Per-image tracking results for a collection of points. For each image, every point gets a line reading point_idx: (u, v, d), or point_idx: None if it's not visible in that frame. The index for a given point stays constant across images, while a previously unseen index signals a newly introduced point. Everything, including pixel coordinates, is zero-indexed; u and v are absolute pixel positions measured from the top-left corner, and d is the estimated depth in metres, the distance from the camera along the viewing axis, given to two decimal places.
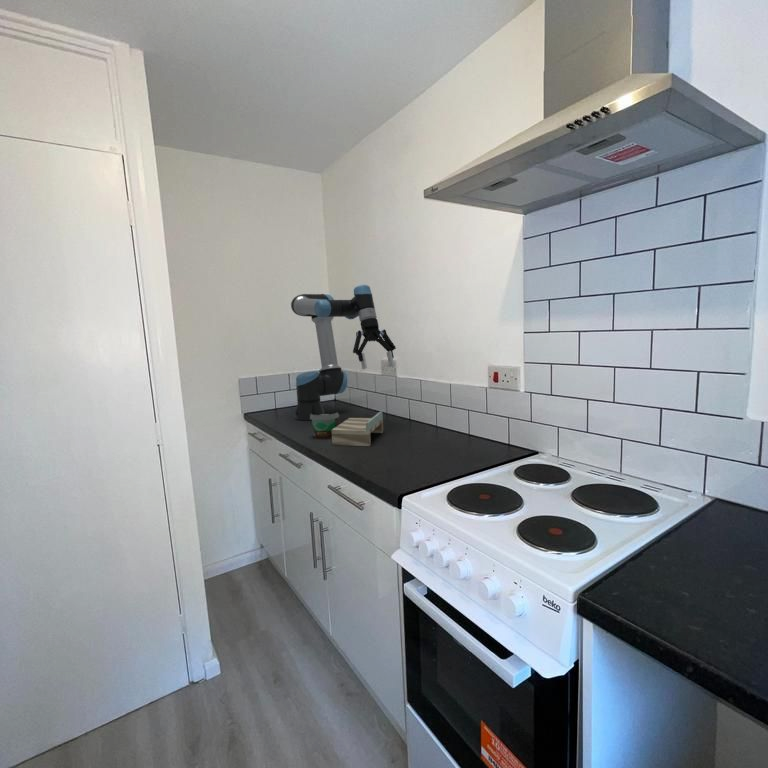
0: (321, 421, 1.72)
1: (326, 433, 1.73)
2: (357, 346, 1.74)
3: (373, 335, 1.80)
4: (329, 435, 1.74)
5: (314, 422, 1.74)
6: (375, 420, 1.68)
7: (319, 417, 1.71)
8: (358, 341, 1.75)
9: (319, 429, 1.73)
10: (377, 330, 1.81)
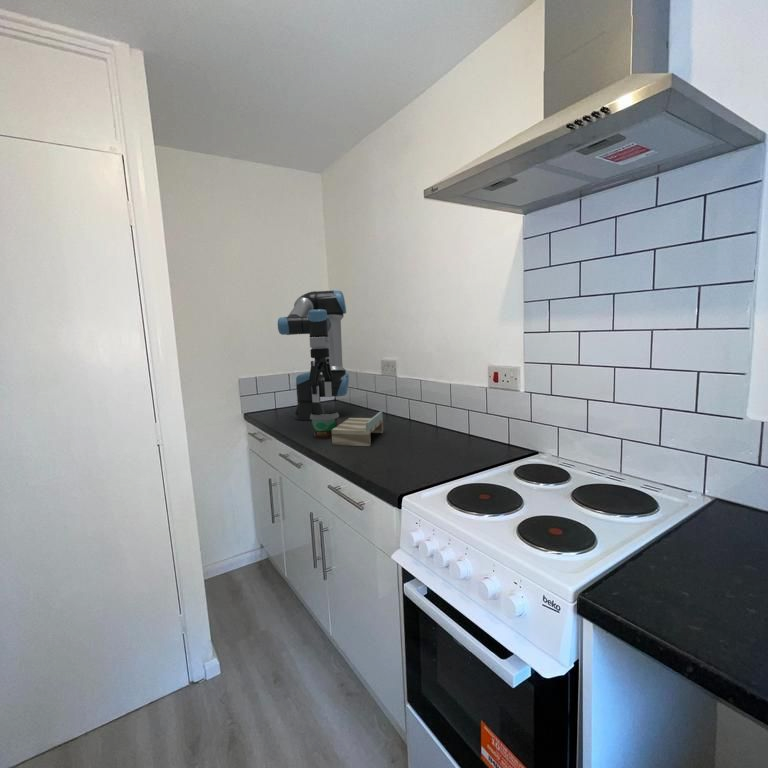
0: (321, 421, 1.72)
1: (326, 433, 1.73)
2: (315, 379, 1.63)
3: None
4: (329, 435, 1.74)
5: (314, 422, 1.74)
6: (375, 420, 1.68)
7: (319, 417, 1.71)
8: (316, 373, 1.64)
9: (319, 429, 1.73)
10: (325, 360, 1.73)
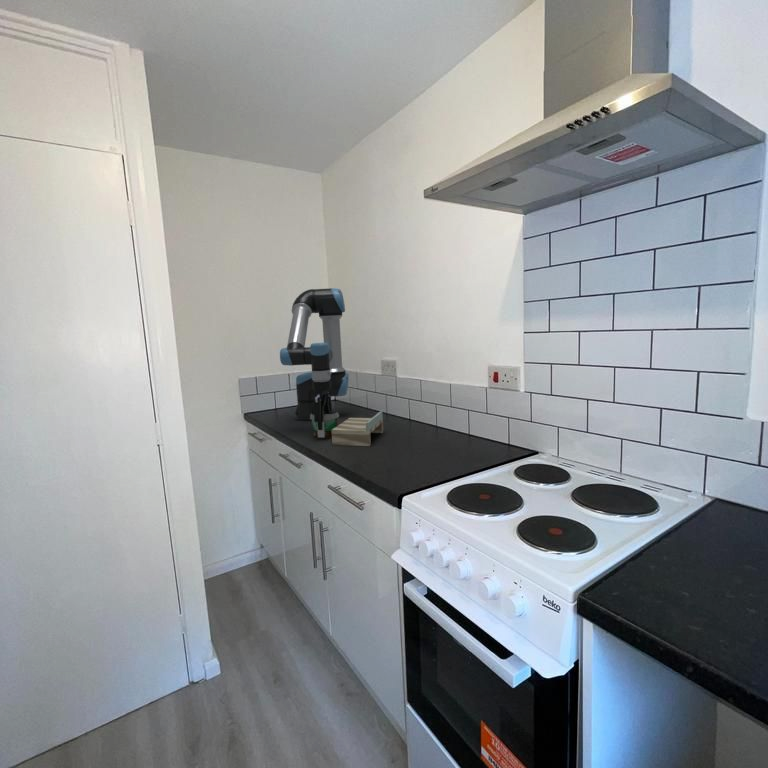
0: None
1: (326, 433, 1.73)
2: (320, 415, 1.68)
3: None
4: (329, 435, 1.74)
5: (314, 422, 1.74)
6: (375, 420, 1.68)
7: None
8: (320, 409, 1.67)
9: None
10: (327, 391, 1.75)
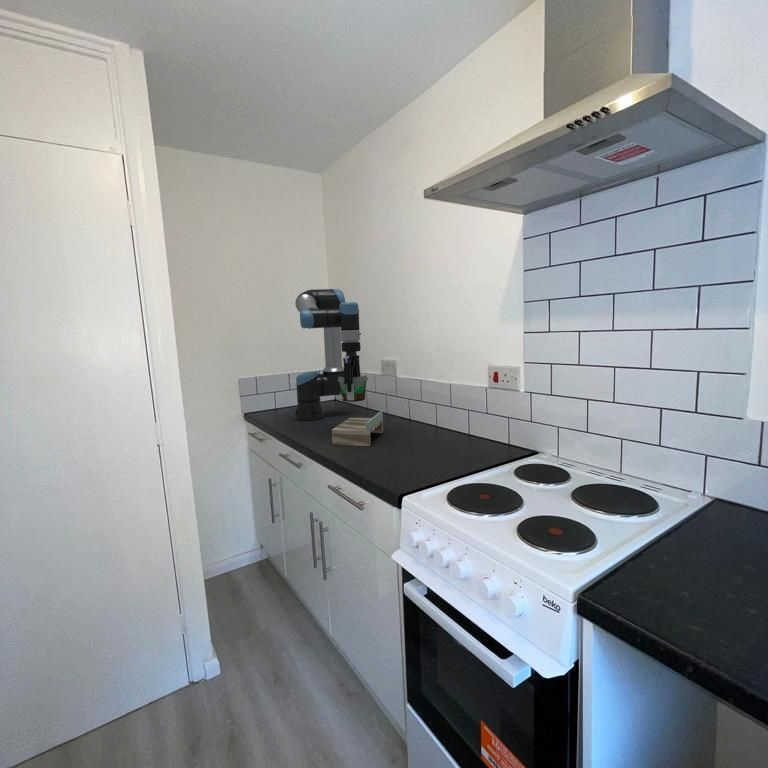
0: None
1: (355, 396, 1.68)
2: (350, 376, 1.62)
3: None
4: (358, 398, 1.68)
5: (343, 385, 1.68)
6: (375, 420, 1.68)
7: None
8: (350, 370, 1.62)
9: None
10: (356, 353, 1.70)
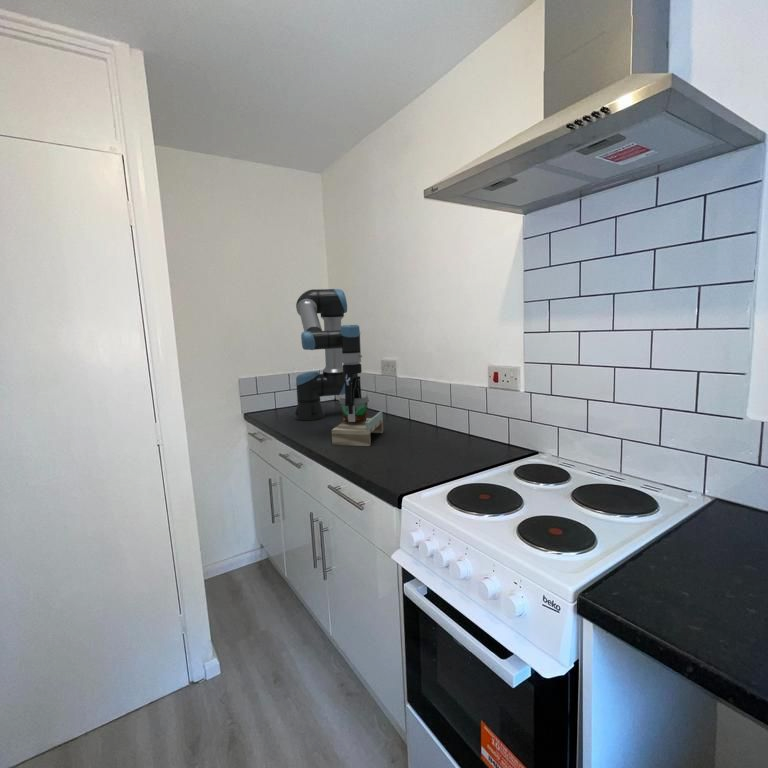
0: None
1: (356, 417, 1.69)
2: (351, 399, 1.63)
3: (355, 381, 1.69)
4: (359, 419, 1.69)
5: (344, 406, 1.69)
6: (375, 420, 1.68)
7: None
8: (351, 393, 1.63)
9: None
10: (357, 375, 1.71)
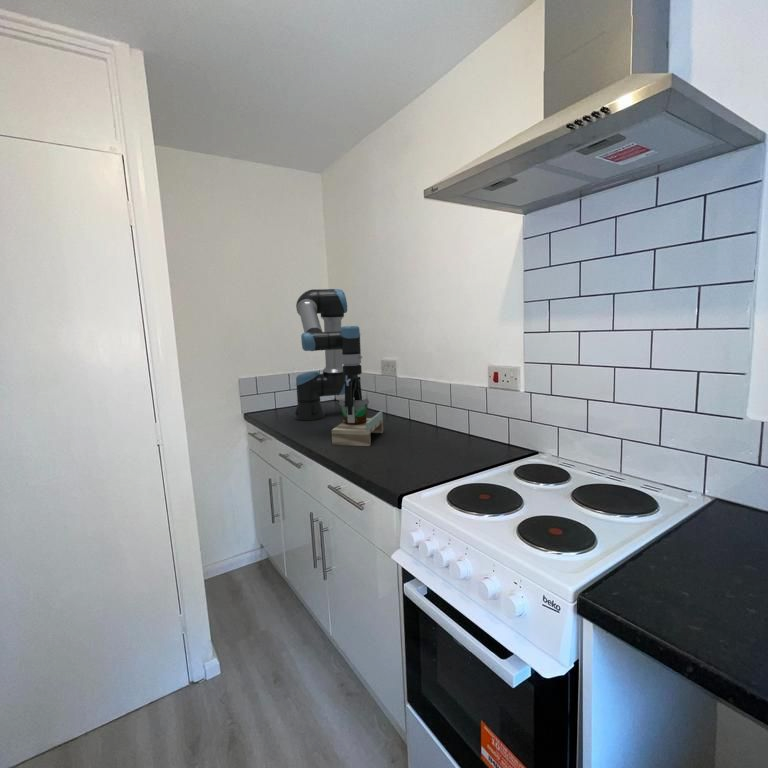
0: None
1: (356, 419, 1.69)
2: (351, 400, 1.63)
3: None
4: (359, 421, 1.69)
5: (344, 408, 1.69)
6: (375, 420, 1.68)
7: None
8: (351, 393, 1.63)
9: None
10: (357, 376, 1.71)
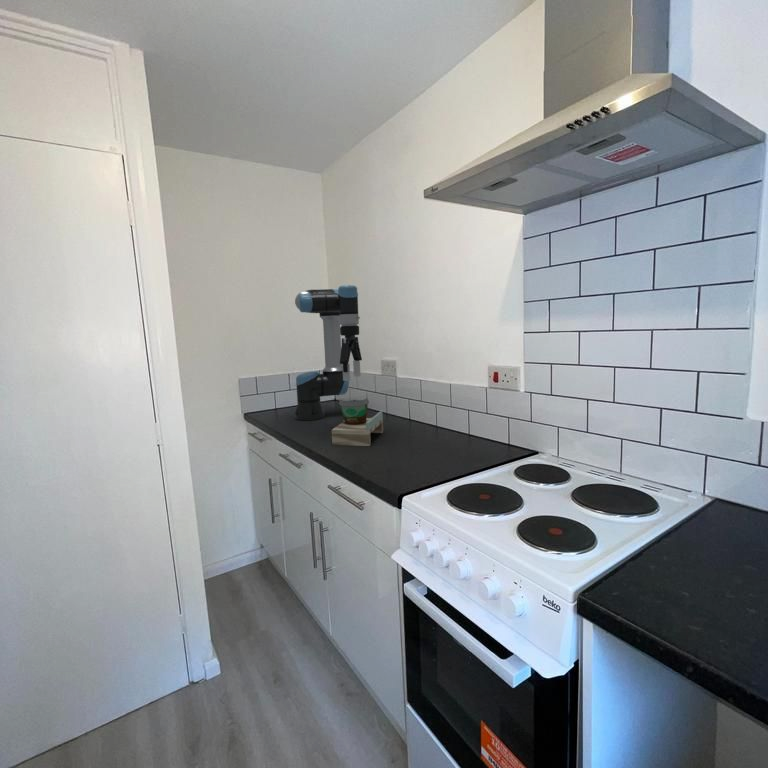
0: (351, 407, 1.68)
1: (356, 419, 1.69)
2: (346, 356, 1.59)
3: None
4: (359, 421, 1.69)
5: (344, 408, 1.69)
6: (375, 420, 1.68)
7: (349, 403, 1.67)
8: (347, 350, 1.60)
9: (349, 415, 1.69)
10: (354, 338, 1.69)
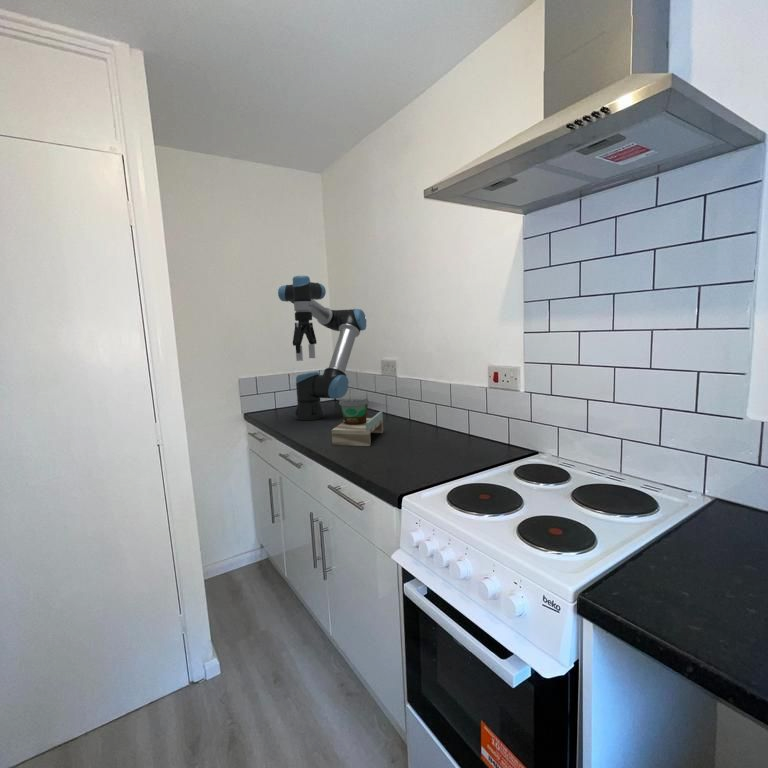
0: (351, 407, 1.68)
1: (356, 419, 1.69)
2: (298, 338, 1.79)
3: (306, 328, 1.87)
4: (359, 421, 1.69)
5: (344, 408, 1.69)
6: (375, 420, 1.68)
7: (349, 403, 1.67)
8: (299, 333, 1.79)
9: (349, 415, 1.69)
10: (308, 323, 1.89)
